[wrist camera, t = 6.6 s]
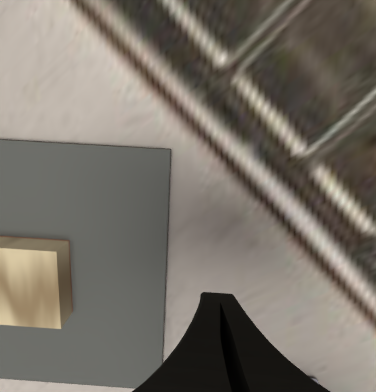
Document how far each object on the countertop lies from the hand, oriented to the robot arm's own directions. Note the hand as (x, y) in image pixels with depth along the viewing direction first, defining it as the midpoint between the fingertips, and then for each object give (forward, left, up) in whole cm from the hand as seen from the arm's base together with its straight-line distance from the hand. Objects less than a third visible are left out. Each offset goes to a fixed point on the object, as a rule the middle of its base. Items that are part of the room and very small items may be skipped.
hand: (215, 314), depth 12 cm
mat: (-4, +11, -9) cm, 15 cm away
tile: (-4, +10, -8) cm, 13 cm away
